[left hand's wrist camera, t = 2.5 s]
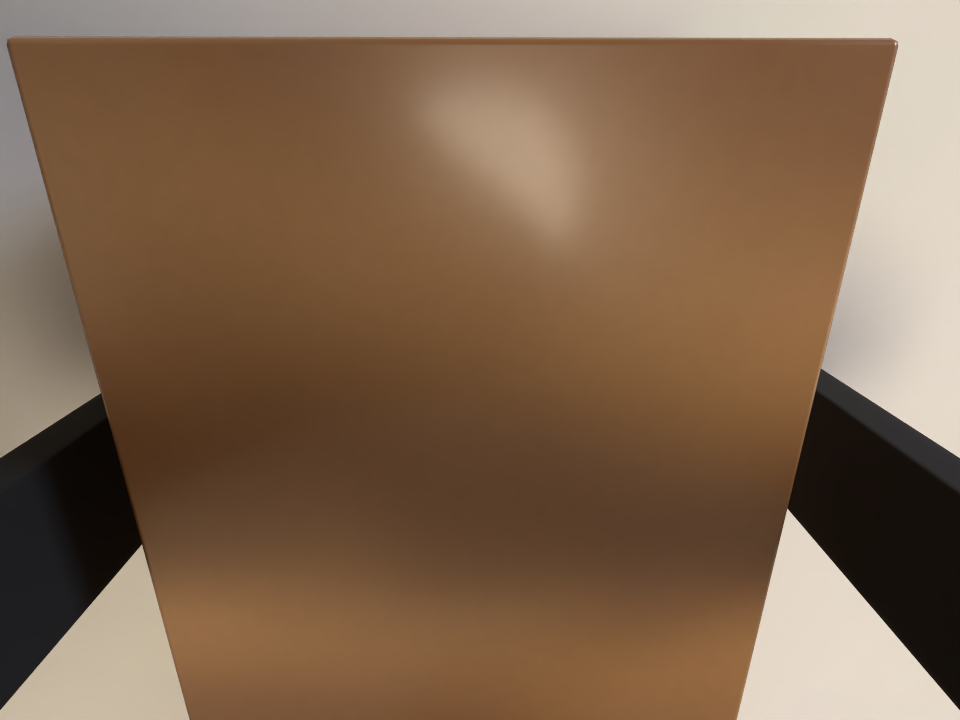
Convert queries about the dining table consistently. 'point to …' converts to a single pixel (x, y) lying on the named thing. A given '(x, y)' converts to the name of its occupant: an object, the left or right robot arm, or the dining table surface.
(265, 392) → the long wooden beam
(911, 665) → the dining table surface
